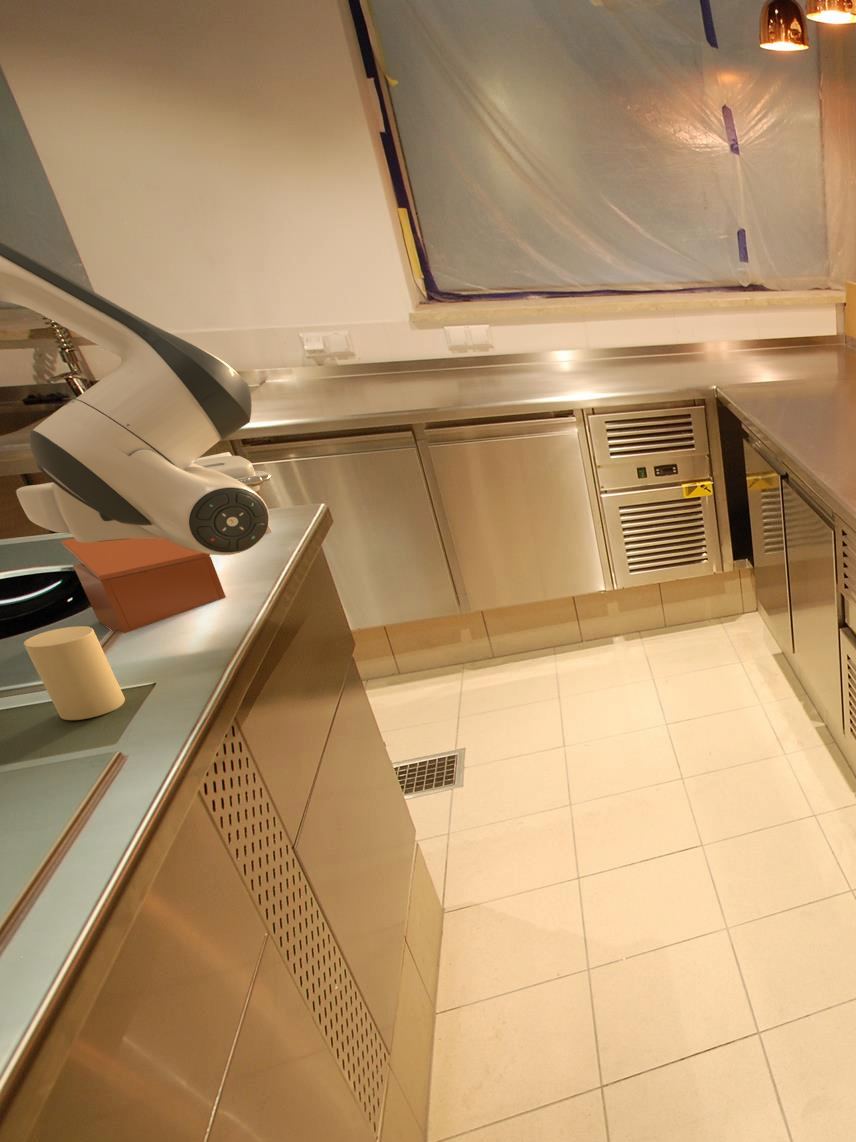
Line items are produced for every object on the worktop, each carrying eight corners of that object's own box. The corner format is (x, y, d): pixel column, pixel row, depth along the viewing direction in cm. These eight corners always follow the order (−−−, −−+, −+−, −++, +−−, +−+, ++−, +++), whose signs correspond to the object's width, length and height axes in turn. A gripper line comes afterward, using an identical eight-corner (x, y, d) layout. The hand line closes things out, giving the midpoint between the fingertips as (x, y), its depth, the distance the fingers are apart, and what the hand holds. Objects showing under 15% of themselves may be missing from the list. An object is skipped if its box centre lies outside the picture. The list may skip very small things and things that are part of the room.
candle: (69, 725, 91) (32, 651, 87) (52, 711, 94) (16, 638, 90) (133, 705, 95) (100, 633, 91) (115, 692, 98) (83, 622, 94)
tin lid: (62, 545, 110) (60, 540, 109) (171, 524, 119) (170, 519, 118) (100, 580, 106) (98, 575, 105) (210, 556, 114) (209, 551, 114)
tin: (99, 624, 114) (72, 564, 111) (201, 598, 123) (180, 542, 119) (128, 643, 109) (101, 581, 106) (232, 614, 118) (210, 556, 114)
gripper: (269, 452, 100) (219, 437, 107) (33, 488, 84) (-9, 468, 91) (286, 503, 103) (236, 486, 109) (60, 547, 87) (18, 524, 93)
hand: (123, 478), depth 100 cm, fingers closed
